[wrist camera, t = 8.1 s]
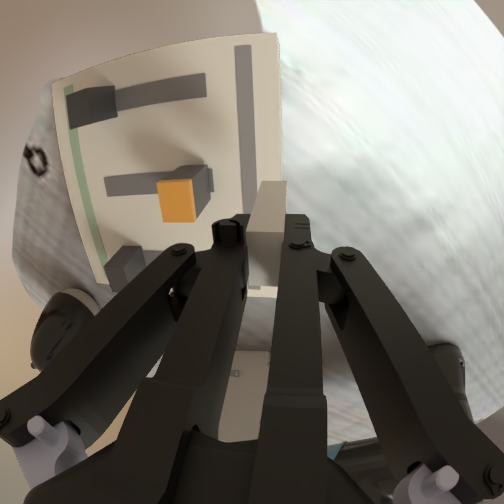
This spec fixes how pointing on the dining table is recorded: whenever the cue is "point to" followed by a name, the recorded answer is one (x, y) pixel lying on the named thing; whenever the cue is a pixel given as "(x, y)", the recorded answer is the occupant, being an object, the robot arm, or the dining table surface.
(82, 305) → the pump dispenser
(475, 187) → the dining table surface
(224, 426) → the circuit breaker
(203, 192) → the block
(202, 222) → the breaker panel
